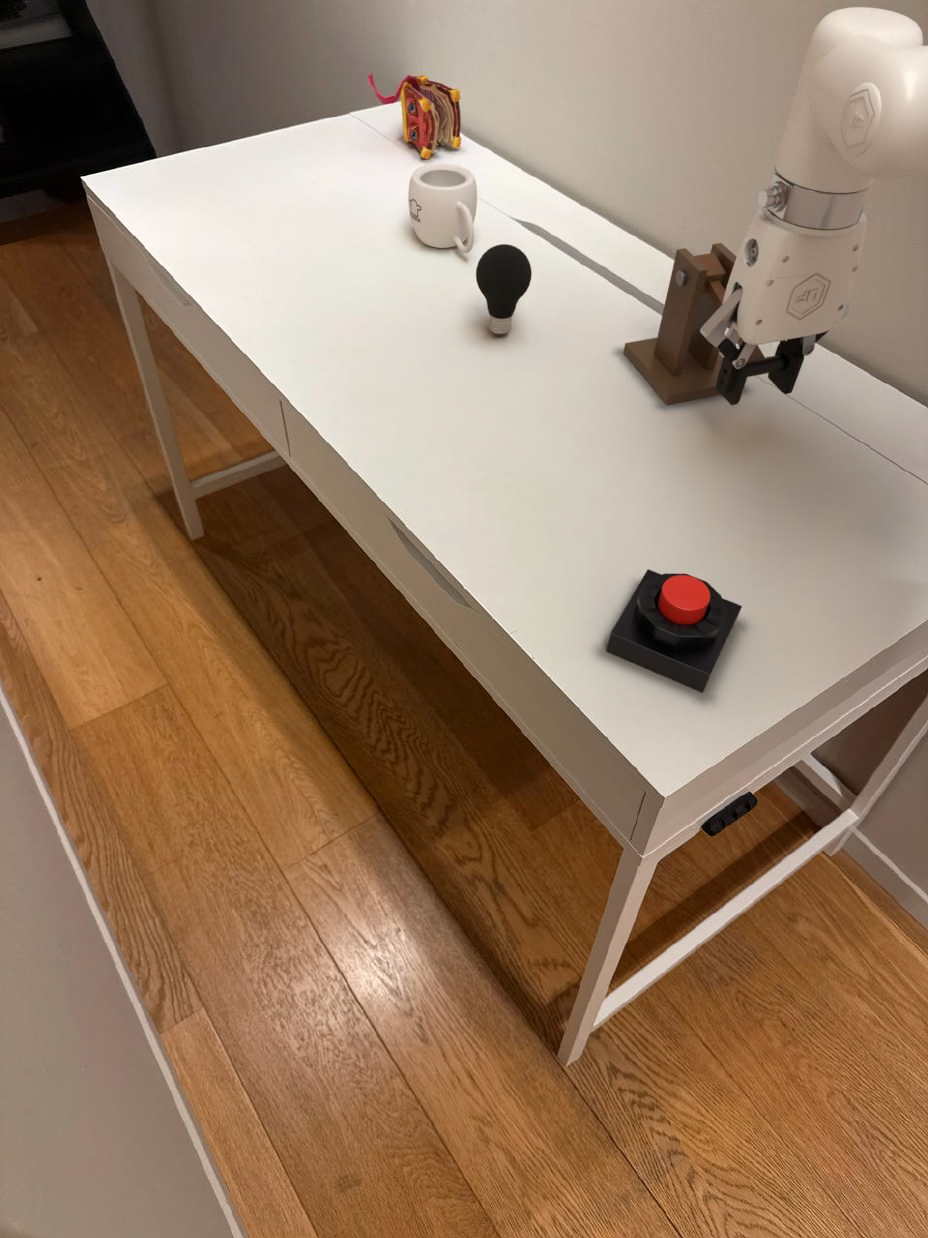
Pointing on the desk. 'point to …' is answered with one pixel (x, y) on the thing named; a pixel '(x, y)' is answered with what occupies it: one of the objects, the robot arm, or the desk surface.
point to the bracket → (683, 334)
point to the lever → (717, 292)
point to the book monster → (427, 112)
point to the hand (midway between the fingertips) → (753, 389)
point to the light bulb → (503, 283)
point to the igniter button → (683, 599)
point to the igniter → (672, 634)
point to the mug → (443, 205)
